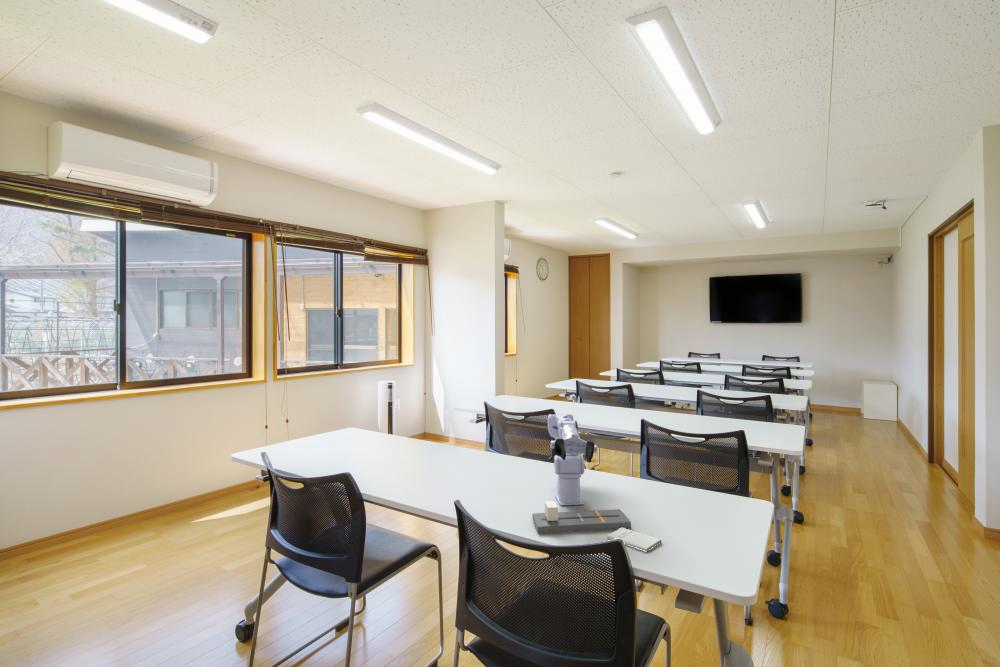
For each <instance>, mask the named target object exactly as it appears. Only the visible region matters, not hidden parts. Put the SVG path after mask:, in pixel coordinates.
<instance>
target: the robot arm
mask: <svg viewBox="0 0 1000 667" xmlns="http://www.w3.org/2000/svg"><path fill="white" fill-rule="evenodd" d="M547 430H548V434H549V435H550V437H551V438H553V439H554V440H550V444H549V445H550V449H552V450H553V453H554V456H553V461H554V463H553V464H554V465H553V466H554V473H555V475H557V476H558V477H557V494H555V495H554V497H555V498H556V501H557V502H558V504H559V506H579V505H582V506H583V505H584V504H585V503H584V502H583V500H582V499H581V478H582V475H584V473H585V469H586V468H585V467H586V466H585V459H586V460H587V461H586V462H587V463H591V462H592V459H593V458H594V454H597V453H598V446H597V444H595V442H593V441H591V440H590V441H589V440H588V441H587V440H584V439H582V438H581V437H580V433H579V424H578V420H575V419H574V415H573V414H572V413H570V414H568V413H567V414H551V413H549V414H548V416H547ZM582 454H583V455H584V454H585V455H584V456H582Z"/></svg>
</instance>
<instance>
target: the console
mask: <svg viewBox="0 0 1000 667" xmlns="http://www.w3.org/2000/svg"><path fill="white" fill-rule="evenodd" d="M532 519H533V520H532ZM532 519H531V520H532V522H533V521H534V522H533V525H534V524H535V525H534V527H535V529H537V530H536V532H538V533H537V534H549V533H548V532H556V533H569V532H568V531H574V532H590V531H591V530H592V531H607V530H606V529H612V530H618V529H619V528H621V527H623V528H631V527H632V522H631V520H630V519H629V518H628V517H627V516H626V515H625V512H623V511H622V510H621V509H620V508H617V509H598V510H597V509H596V510H594V509H593V510H580V511H579V510H578V511H577V510H576V511H575V510H574V511H573V510H572V511H562V512H561V511H560V512H559V511H558V521H548V520H547V518H546V516H545V512H538V513H537V512H535V513H532ZM631 529H632V528H631ZM546 532H547V533H546Z"/></svg>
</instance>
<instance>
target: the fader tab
mask: <svg viewBox="0 0 1000 667" xmlns="http://www.w3.org/2000/svg"><path fill="white" fill-rule="evenodd" d="M558 512H559V507H558V505H557V503H556V502H555V501H554V500H553V501H544V513H545V516H546V518H547V520H548V521H558Z"/></svg>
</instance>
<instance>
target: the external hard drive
mask: <svg viewBox="0 0 1000 667" xmlns="http://www.w3.org/2000/svg"><path fill="white" fill-rule="evenodd" d="M614 538H620V539H623V540H624V542H625V545H624V546H627V545H630V546H633V547H637V548H639V549H642V550H645V551H648V550H649V549H651V548H652V547H654V546H655V545H657V544H659V543H660V542H661V543H662V539H660V538H658V537H654V536H651V535H648V534H645V533H641V532H637V531H636V530H631V529H626V528H623V527H621V528H620V529H615V531H613V532H611V533H609V534H607V536H606V540H610V539H614ZM610 541H611V540H610ZM659 545H660V544H659ZM627 547H628V546H627ZM648 552H649V551H648Z"/></svg>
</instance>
